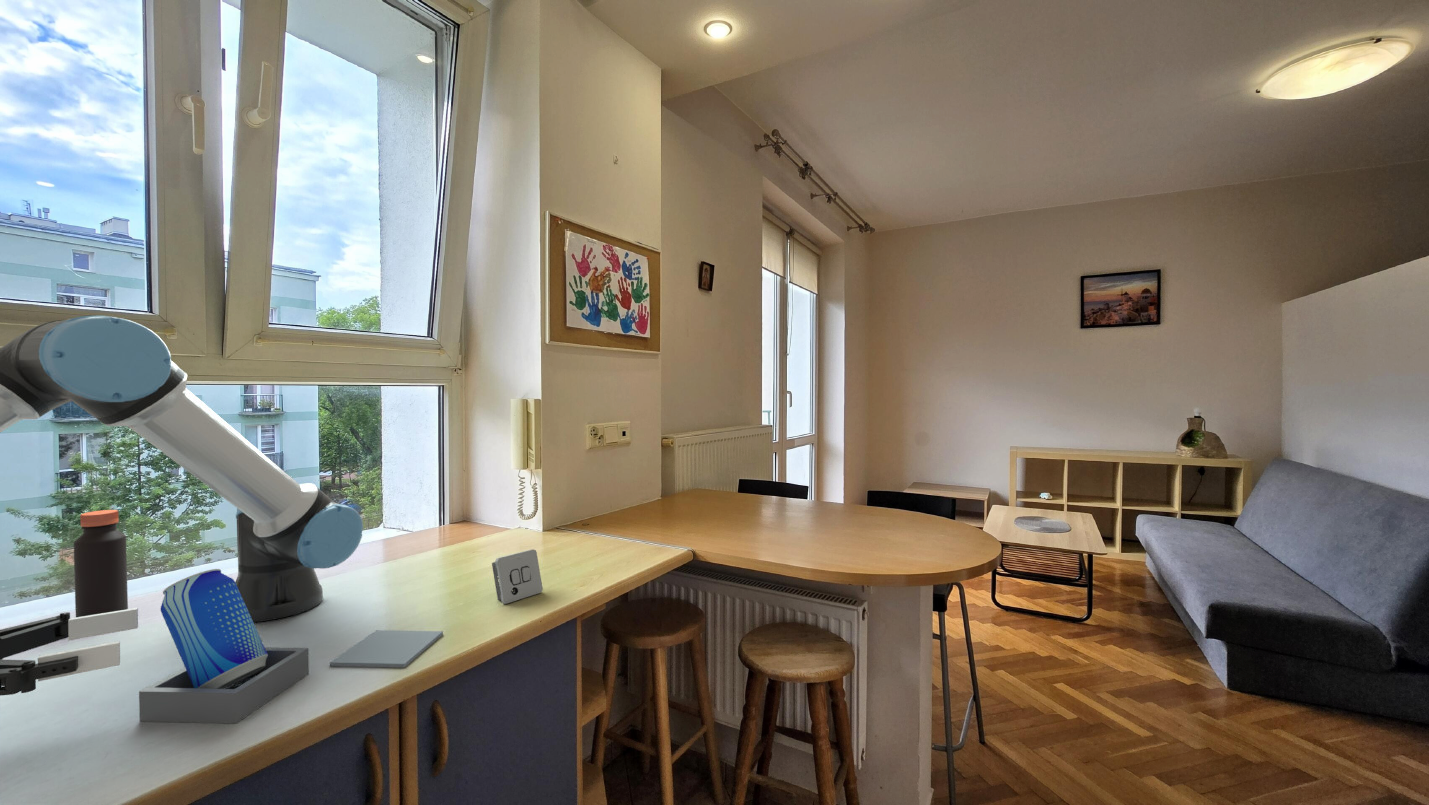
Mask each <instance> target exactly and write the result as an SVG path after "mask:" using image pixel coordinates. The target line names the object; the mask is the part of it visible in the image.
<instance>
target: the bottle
mask: <svg viewBox="0 0 1429 805" xmlns="http://www.w3.org/2000/svg"><path fill="white" fill-rule="evenodd" d="M79 517H80V527H81V528H80V529H81V530H83V532H82V533H83V534H81V535H80V536H79V537H78V538H77V539H75V541H74V542H73V566H74V570H73V571H74V573H73V574H74V600H75V601H74V603H75V606H74V607H75V618H76V617H83V616H89V615H95V614H101V613H108V612H114V611H120V610H126V609H129V604H128V603H129V602H128V599H129V596H128V569H127V568H128V565H127V563H128V561H127V555H128V554H127V536H126V534H124V533H123V532H121V531H120V530H118V529H117V525H119V521H120V520H119V510H117V509H104V510H94V511H88V512H84V513H82V514H80V516H79Z"/></svg>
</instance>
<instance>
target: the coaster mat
mask: <svg viewBox="0 0 1429 805" xmlns="http://www.w3.org/2000/svg"><path fill="white" fill-rule="evenodd" d="M442 636H444V631H441V630H439V631H438V630H390V629H387V630H386V629H382V630H380V629H377V630H374V631H372V633H370V634H368V635H367V636H365V637H364V638H362V640H360V641H359V642H357V643H356V644H354V645H353V646H351V647H350V648H348V649H346V651H344V652H343V653H341V654H340V655H338V656H337V657H336V658H334V659H332V660H331V661H330V662H329V667H348V668H349V667H355V668H357V667H358V668H406V667H408V665H409V664H411V663H412V662H413V661H414V660H415V659H417V658H418V657H420V655H421V654H423V653H424V652H425V650H427V649H428V648H429V647H430V646H432V645H433V644H434V643H436V642H437V640H439V639H440V638H441V637H442Z"/></svg>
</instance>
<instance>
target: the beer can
mask: <svg viewBox="0 0 1429 805" xmlns="http://www.w3.org/2000/svg"><path fill="white" fill-rule="evenodd" d="M235 582H236V580H234V578H232V577H230V576H228V575H226V574H224V573H222V570H221V569H220V568H212V569H208V570H205V571H201V572H198V573H195V574H192V575H190V576H186V577H184V578H182V579H180V580H178V581H176V582H174V583H172V584H171V585H169V586H167V587H166V588H164V589H163V591H162V594H163V595H164V596H163V600H162V603H161V605H160V612H161V615H162V617H163V621H165V625H166V626H167V628H168V631H169V633H170V635H171V638H172V640H173V643H174V645H175V647H176V650H177V652H178V654H179V656H180V659H181V661H182V664H183V666H184V668H186V671H187V673H188V675H189V678H190V680H191V682H192V684H193V687H194V688H203V689H229V687H231V686H234V685H236V684H237V683H239V682H242V681H243V680H245V679H247V678H249V677H252V676H251V675H253V674H254V673H256V672H258V671H259V670H261V669H262V668H264V667H265V662H266V659H267V656H268V654H267V651H266V649H265V647H266V646H265V645H264V643H263V641H262V640H263V639H262V638H261V637H260V634H259V631H258V630H257V627H256V626H255V622H253V620H252V618H251V616H250V614H249V612H248V609H247V607H246V605H245V603H244V601H243V598H242V596H241V594H240V592H239V590H238V587H237V585H236V583H235Z"/></svg>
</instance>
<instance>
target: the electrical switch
mask: <svg viewBox="0 0 1429 805" xmlns="http://www.w3.org/2000/svg"><path fill="white" fill-rule="evenodd" d="M491 566H492V572H493V579H494V580H493V581H494V584H495V591H496V592H495V593H496V598H497V601H501V603H502V604H503V605H506V604H510V603H514V602H517V601H518V600H522V599H525V598H528V597H531V596H534V595H538V594H540V593H542V592H543V590H544V587H543V582H542V576H541V572H540V571H541V570H540V564H539V559H538V552H537V550H536V549H534V548H533V549H532V548H531V549H527V550H524V551H519V552H516V553H511V554H507V555H504V556H499V557H497V558H496V559H495V561H494V562H491Z"/></svg>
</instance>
